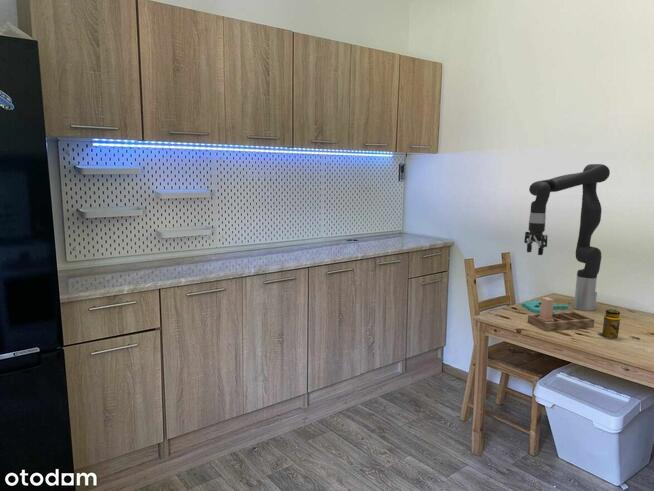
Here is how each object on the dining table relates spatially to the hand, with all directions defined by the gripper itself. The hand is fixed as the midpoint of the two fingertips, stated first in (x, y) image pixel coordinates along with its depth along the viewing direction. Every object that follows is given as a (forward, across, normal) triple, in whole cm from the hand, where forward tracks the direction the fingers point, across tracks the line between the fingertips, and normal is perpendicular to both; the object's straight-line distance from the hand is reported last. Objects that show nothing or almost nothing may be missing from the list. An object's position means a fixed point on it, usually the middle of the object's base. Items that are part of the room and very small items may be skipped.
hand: (534, 253), depth 243 cm
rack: (+30, -23, +1) cm, 38 cm away
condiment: (+30, -41, -8) cm, 52 cm away
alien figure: (+31, +1, -9) cm, 32 cm away
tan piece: (+29, -23, +9) cm, 38 cm away
